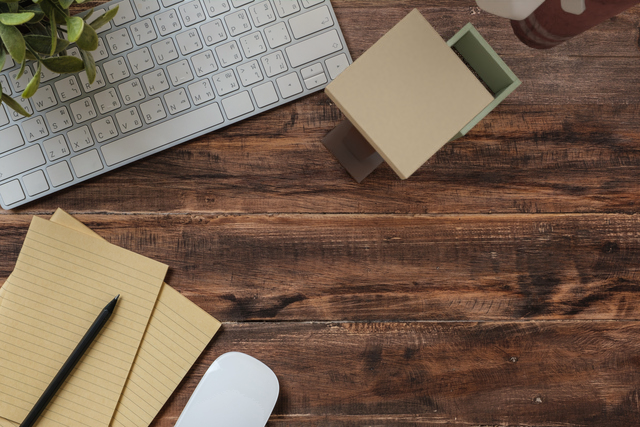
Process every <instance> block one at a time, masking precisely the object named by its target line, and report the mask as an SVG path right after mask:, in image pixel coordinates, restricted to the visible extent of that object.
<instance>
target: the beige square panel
mask: <svg viewBox="0 0 640 427" xmlns="http://www.w3.org/2000/svg"><path fill="white" fill-rule="evenodd" d="M446 42H447V41H445V40H444V39H443V38H442V36H441V35H440V34H439V33H438V32H437V30H436V29H435V28H434V27H433V26H432V25H431V23H430V22H429V21H428V20H427V18H425V17H424V15H423V14H422V13H421V12H420V11H419V9H417V7H414V8H413V9H412V10H410V11H409V12H408V13H407V14H406V15H405V16H404V17H403V18H401V19H400V20H399V21H398V22H397V23H396V24H394V26H392V28H390V29H389V30H388V31H386V33H384V34H383V36H381V37H380V38H379V39H378V40H377V41H375V43H374V44H372V45H371V46H370V47H368V48H367V49H366V50H365V51H364V52H363V53H362V54H361V55H360V56H358V57H357V58H356V59H355V60H354V61H353V62H352V63H351V64H350V65H348V66H347V67H346V68H345V69H344V70H342V71H341V72H340V73H339V74H338V75H337V76H336V77H334V79H332V80H331V81H330V82H328V84H327V85H326V86H325V87H324V91H323V92H324V94H326V96H327V97H328V98H329V99H330V100H331V101H332V103H334V104H335V106H336V107H337V108H338V109H339V111H341V113H342V114H343V115H344V116H345V118H346V117H347V118H348V119H349V120H350V121H351V123H352V124H353V125H354V126H355V127H356V128H357V129H358V130H359V132H360V133H361V134H362V135H363V136H364V137H365V138H366V139H367V141H368V142H369V143H370V144H371V145H372V146H373V147H374V149H375V150H376V151H377V152H378V153H379V154H380V155H381V156H382V158H383V159H384V161H385V162H386V163H387V164H388V166H389V167H390V169H392V170H393V172H395V174H396V175H397V176H398V177H399V179H401V181H402V180H406V179H408V178H410V177H411V176H412V175H413V174H414V173H415V172H416V171H418V169H419V168H421V167H422V166H423V165H424V164H425V163H426V162H427V161H428V160H429V159H431V157H432V156H434V155H435V154H436V153H437V152H438V151H440V150H441V148H442V147H444V146H445V145H446V144H447V143H449V142H448V141H449V140H450V139H451V138H452V137H453V136H454V135H456V134H457V133H458V132H459V131H460V130H461V129H462V128H463V127H464V126H466V125H467V124H468V123H469V122H470V121H471V120H472V119H473V118H474V117H475V116H477V115H478V114H479V113H480V112H481V111H482V110H483V109H484V108H485V107H486V106H488V105H489V104H490V103H491V102H492V101H493V100H494V98H493V97H492V95H493V94H491V93H490V92H489V90H488V89H486V87H485V86H484V84H482V82H481V81H480V80H479V79H478V78H477V76H475V74H474V73H473V72H472V71H471V70H470V69H469V67H468V66H467V65H466V64H465V63H464V62H463V60H461V58H460V57H459V56H458V55H457V53H455V51H454V50H453V49H452V48H450V47H449V46H448V44H447V43H446Z"/></svg>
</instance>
